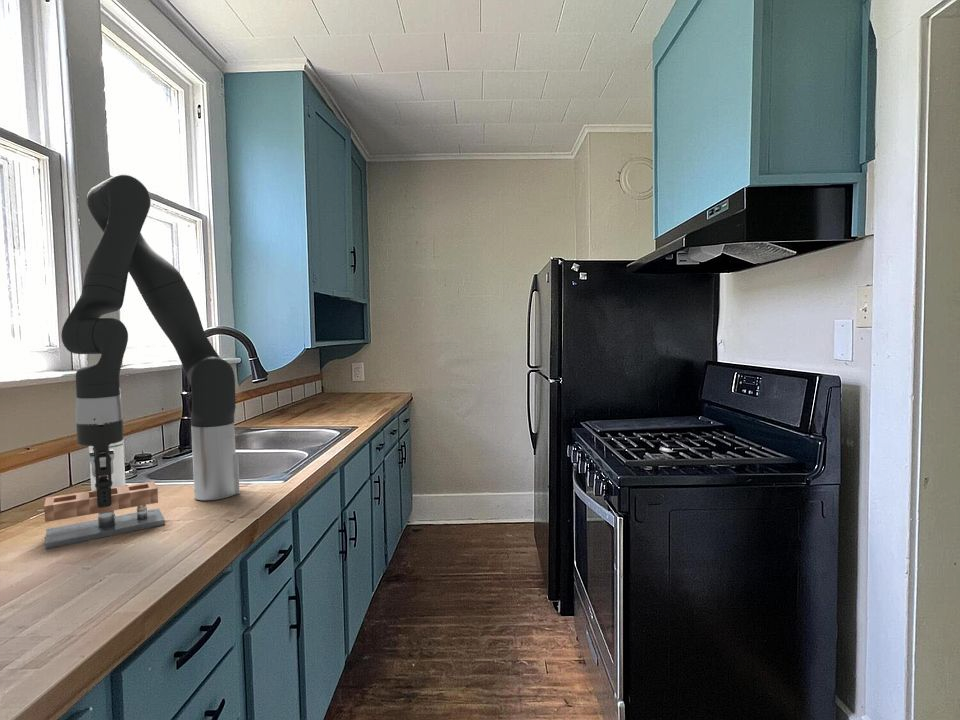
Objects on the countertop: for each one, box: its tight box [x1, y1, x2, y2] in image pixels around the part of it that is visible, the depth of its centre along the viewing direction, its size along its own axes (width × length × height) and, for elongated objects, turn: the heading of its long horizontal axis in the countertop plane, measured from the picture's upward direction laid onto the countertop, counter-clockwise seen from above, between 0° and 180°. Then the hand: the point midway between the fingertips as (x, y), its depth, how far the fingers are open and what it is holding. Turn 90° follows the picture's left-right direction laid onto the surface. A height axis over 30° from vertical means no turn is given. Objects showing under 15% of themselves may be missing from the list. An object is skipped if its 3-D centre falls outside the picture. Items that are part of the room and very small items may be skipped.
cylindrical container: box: [88, 392, 126, 491], centre depth 135 cm, size 7×7×25 cm
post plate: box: [44, 505, 166, 549], centre depth 107 cm, size 19×9×6 cm, turn 128°
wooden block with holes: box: [43, 480, 159, 523], centre depth 107 cm, size 18×6×3 cm, turn 127°
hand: (104, 501), depth 107 cm, fingers closed on wooden block with holes, 6 cm apart
